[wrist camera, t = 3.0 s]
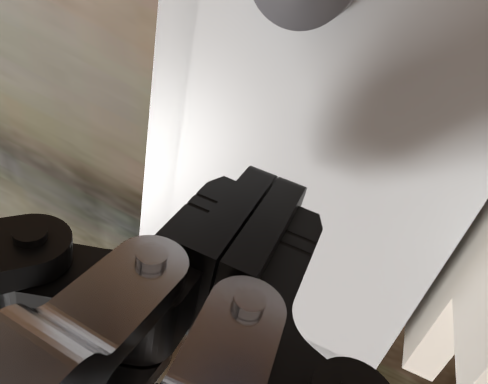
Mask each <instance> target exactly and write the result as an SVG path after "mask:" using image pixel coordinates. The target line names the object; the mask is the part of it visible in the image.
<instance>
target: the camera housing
mask: <svg viewBox="0 0 488 384" xmlns="http://www.w3.org/2000/svg"><path fill="white" fill-rule="evenodd" d="M249 166H253V167H256V168H258V169H261V170H264V171H266V172H269V173H271V174H274V175H276V176H278V177H282V178H284V179H287V180H289V181H292V182H295V183H297V184H300V185H302V186H305V187H307V190H306V193H305V196H304V199H303V202H302V205H301V207H303V208H305V209H308V210H310V211H313V212H315V213H318V214H319V215H320V219H321V223H322V227H323V230H322V233H321V235H320V238H319V240H318V243H317V245H316V248H315V250H314V253H313V255H312V258H311V260H310V262H309V265H308V267H307V270H306V272H305V275H304V277H303V280H302V282H301V285H300V287H299V290H298V292H297V294H296V297H295V299H294V302H293V307H292V314H293V319H294V322H295V325H296V327H297V329H298V331H299V332H300V334H301V335H302V337H303V338H304V339H305V340H306V341H307V342H308V343H309V344H310V345H311V346H312V347H313V348H314V349H315V350H317V351H318V352H319V353H320V354H321V355H323V356H324V357H325V358H326V359H329V358H333V357H342V356H343V357H351V358H354V359H358V360H360V361H362V362H365V363H366V364H368V365H370V366H371V367H373V368H374V369H376V368H377V367H378V365H379V364H380V362H381V361H382V359H383V358H384V356H385V355H386V353H387V352H388V350H389V348H390V347H391V345H392V344H393V342H394V341H395V339H396V338H397V336H398V335H399V333H400V332H401V330H402V329H403V327H404V326H405V324H406V323H407V321H408V320H409V318H410V317H411V315H412V313H413V312H414V310H415V309H416V307H417V306H418V304H419V303H420V301H421V300H422V298H423V297H424V295H425V294H426V292H427V291H428V289H429V288H430V286H431V285H432V283H433V281H434V280H435V278H436V277H437V275H438V274H439V272H440V271H441V269H442V268H443V266H444V265H445V263H446V262H447V260H448V259H449V257H450V256H451V254H452V253H453V251H454V250H455V248H456V246H457V245H458V243H459V242H460V240H461V239H462V237H463V236H464V234H465V233H466V231H467V230H468V228H469V227H470V225H471V224H472V222H473V221H474V219H475V218H476V216H477V214H478V213H479V211H480V210H481V208H482V207H483V205H484V204H485V202H486V201H487V199H488V0H159V1H158V14H157V26H156V38H155V50H154V63H153V75H152V87H151V99H150V111H149V124H148V136H147V148H146V160H145V173H144V185H143V197H142V209H141V222H140V234H139V236H141V235H155V234H156V233H157V232H158V231H159V230H160V229H161V228H162V227H163V226H164V225H165V224H166V223H167V222H168V221H169V220H170V219H171V218H172V217H173V216H174V215H175V214H176V213H177V212H178V211H179V210H180V209H181V208H182V207H183V206H184V205H185V204H187V203H188V201H189V200H190V199H191V198H192V197H193V196H194V195H196V193H197V192H198V191H199V190H200V189H201V188H202V187H203V186H204V185H205V184H206V183H207V182H209V181H211V180H214V179H217V178H219V177H222V176H225V177H228V178H230V179H233V180H235V181H236V180H237V179H238V178H239V177H240V176H241V175H242V174H243V172H244V171H245V170H246V169H247V168H248V167H249Z"/></svg>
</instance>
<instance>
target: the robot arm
mask: <svg viewBox="0 0 488 384" xmlns="http://www.w3.org/2000/svg"><path fill="white" fill-rule="evenodd" d="M306 190H307V187H305V186H302V185H300V184H297V183H295V182H292V181H289V180H287V179H284V178H282V177H278V176H276V175H274V174H271V173H269V172H266V171H264V170H261V169H258V168H256V167H253V166H249V167H248V168H247V169H246V170H245V171H244V172H243V174H242V175H241V176H240V177H239V178H238V179H237V180H236V181H235V180H233V179H230V178H228V177H225V176H222V177H219V178H217V179H214V180H211V181H209V182H207V183H206V184H205V185H204V186H203V187H202V188H201V189H200V190H199V191H198V192H197V193H196V195H194V196H193V197H192V198H191V199H190V200H189V201H188V203H187V204H185V205H184V206H183V207H182V208H181V209H180V210H179V211H178V212H177V213H176V214H175V215H174V216H173V217H172V218H171V219H170V220H169V221H168V222H167V223H166V224H165V225H164V226H163V227H162V228H161V229H160V230H159V231H158V232H157V233H156V234H155V235H141V236H136V237H133V238H130V239H128V240H126V241H124V242H123V243H121V244H120V245H119V246H117V247H116V248H115V249H114V250H111V249H102V248H97V247H91V246H85V245H80V244H74V243H73V240H72V231H71V229H70V227H69V226H68V225H67V223H65V222H64V221H63V220H61V219H59V218H57V217H54V216H50V215H46V214H25V215H18V216H11V217H4V218H0V384H155V382H156V381H157V380H158V378H159V377H160V376H161V375H162V373H163V372H164V371H165V369H166V368H167V367H168V365H169V363H170V361H171V359H172V354H173V352H174V350H175V349H176V347H177V346H178V344H179V343H180V341H181V340H182V338H183V337H184V335H185V334H186V335H187V337H186V339H185V341H184V342H183V344H182V346H181V348H180V350H179V352H178V354H177V356H176V357H175V359H174V361H173V363H172V365H171V367H170V369H169V371H168V372H167V374H166V376H165V378H164V379H163V381H162V382H161V383H160V384H389V382H388V381H387V380H386V379H385V378H384V377H383V376H382V375H381V374H380V373H379V372H378V371H377V370H376V369H374V368H373V367H371V366H370V365H368V364H366V363H365V362H362V361H360V360H358V359H354V358H351V357H343V356H342V357H333V358H329V359H326V358H325V357H324V356H323V355H321V354H320V353H319V352H318V351H317V350H315V349H314V348H313V347H312V346H311V345H310V344H309V343H308V342H307V341H306V340H305V339H304V338H303V337H302V335H301V334H300V332H299V331H298V329H297V327H296V325H295V322H294V319H293V314H292V307H293V302H294V299H295V297H296V294H297V292H298V290H299V287H300V285H301V282H302V280H303V277H304V275H305V272H306V270H307V267H308V265H309V262H310V260H311V258H312V255H313V253H314V250H315V248H316V245H317V243H318V240H319V238H320V235H321V233H322V230H323V227H322V223H321V219H320V215H319V214H318V213H315V212H313V211H310V210H308V209H305V208H303V207H301V205H302V202H303V199H304V196H305V193H306ZM156 384H158V383H156Z"/></svg>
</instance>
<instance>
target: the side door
mask: <svg viewBox="0 0 488 384" xmlns="http://www.w3.org/2000/svg"><path fill="white" fill-rule="evenodd" d="M454 354H455V367H456V384H488V199H487V201H486V202H485V204H484V205H483V207H482V208H481V210H480V211H479V213H478V214H477V216H476V218H475V219H474V221H473V222H472V224H471V225H470V227H469V228H468V230H467V231H466V233H465V234H464V236H463V237H462V239H461V240H460V242H459V243H458V245H457V246H456V248H455V250H454V251H453V253H452V254H451V256H450V257H449V259H448V260H447V262H446V263H445V265H444V266H443V268H442V269H441V271H440V272H439V274H438V275H437V277H436V278H435V280H434V281H433V283H432V285H431V286H430V288H429V289H428V291H427V292H426V294H425V295H424V297H423V298H422V300H421V301H420V303H419V304H418V306H417V307H416V309H415V310H414V312H413V313H412V315H411V317H410V318H409V320H408V321H407V323H406V324H405V337H404V349H403V362H402V368H403V369H405V370H408V371H410V372H412V373H414V374H416V375H419V376H421V377H423V378H425V379H427V380H430V381H433V380H434V379H435V377H436V376H437V375H438V374H439V373H440V371H441V370H442V369H443V368H444V366H445V365H446V364H447V363H448V361H449V360H450V359H451V358H452V357H453V355H454Z"/></svg>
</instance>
